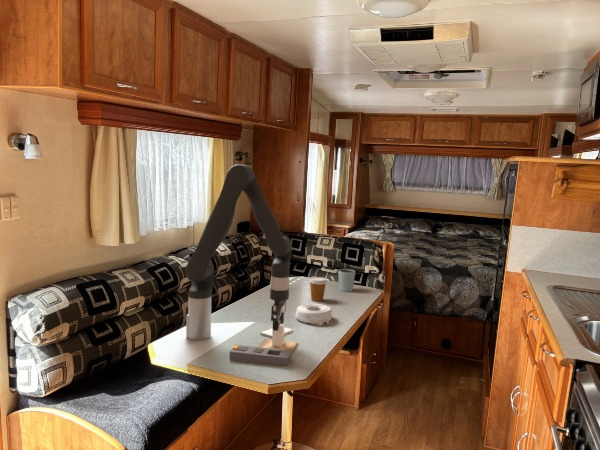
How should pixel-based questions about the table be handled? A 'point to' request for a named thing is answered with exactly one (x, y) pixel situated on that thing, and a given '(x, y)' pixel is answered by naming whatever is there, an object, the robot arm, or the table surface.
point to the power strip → (261, 355)
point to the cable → (314, 314)
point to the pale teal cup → (346, 280)
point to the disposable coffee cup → (317, 288)
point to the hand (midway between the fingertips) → (278, 326)
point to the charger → (278, 336)
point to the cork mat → (286, 346)
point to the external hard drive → (269, 332)
